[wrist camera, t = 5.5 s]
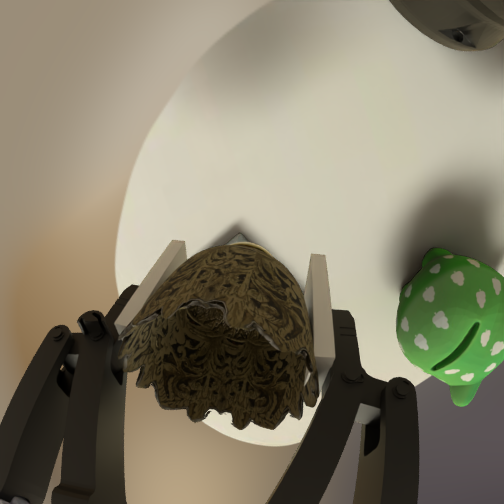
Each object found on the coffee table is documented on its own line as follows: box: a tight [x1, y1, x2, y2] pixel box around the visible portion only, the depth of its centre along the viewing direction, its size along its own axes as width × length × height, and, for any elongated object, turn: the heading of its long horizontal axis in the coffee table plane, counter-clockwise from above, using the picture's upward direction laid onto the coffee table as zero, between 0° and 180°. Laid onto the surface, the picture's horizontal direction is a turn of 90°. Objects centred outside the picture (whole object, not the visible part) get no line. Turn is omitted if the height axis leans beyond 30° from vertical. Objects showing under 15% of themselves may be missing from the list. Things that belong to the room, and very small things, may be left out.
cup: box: [118, 242, 319, 430], centre depth 12 cm, size 8×7×8 cm
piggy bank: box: [396, 248, 504, 406], centre depth 24 cm, size 14×18×15 cm
